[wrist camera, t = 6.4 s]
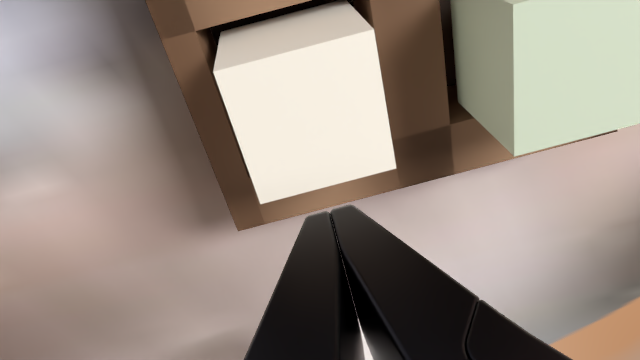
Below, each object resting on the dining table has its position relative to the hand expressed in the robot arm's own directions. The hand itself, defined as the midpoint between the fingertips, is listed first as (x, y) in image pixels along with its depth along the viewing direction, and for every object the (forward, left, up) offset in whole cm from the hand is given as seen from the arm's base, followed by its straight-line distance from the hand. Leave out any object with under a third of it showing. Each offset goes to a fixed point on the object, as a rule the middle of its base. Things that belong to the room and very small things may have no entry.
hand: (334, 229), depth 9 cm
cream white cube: (0, 0, -9) cm, 9 cm away
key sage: (-7, 0, -8) cm, 11 cm away
